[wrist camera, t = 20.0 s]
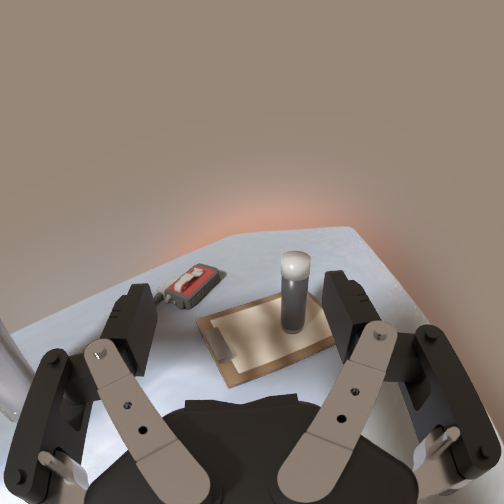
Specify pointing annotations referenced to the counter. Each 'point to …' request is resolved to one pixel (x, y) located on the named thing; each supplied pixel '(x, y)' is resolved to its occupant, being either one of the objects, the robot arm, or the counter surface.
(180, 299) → the walkie-talkie
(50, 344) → the counter surface
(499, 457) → the robot arm
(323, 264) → the counter surface
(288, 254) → the bottle
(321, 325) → the clipboard
